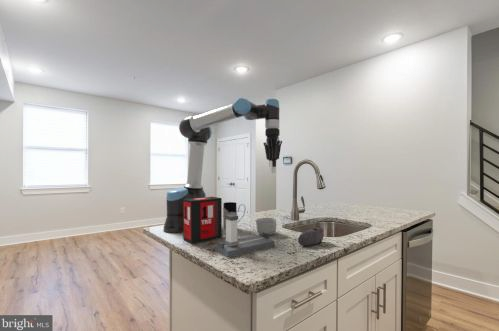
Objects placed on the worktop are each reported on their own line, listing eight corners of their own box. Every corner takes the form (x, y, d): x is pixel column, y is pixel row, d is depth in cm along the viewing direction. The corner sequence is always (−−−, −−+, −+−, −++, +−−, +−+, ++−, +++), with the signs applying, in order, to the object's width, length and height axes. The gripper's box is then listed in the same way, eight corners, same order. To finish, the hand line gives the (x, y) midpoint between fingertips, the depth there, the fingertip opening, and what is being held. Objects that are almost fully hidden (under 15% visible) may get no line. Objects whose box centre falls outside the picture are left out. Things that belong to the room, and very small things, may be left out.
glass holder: (220, 228, 143) (220, 202, 143) (242, 225, 150) (242, 201, 150) (225, 231, 135) (225, 204, 135) (248, 228, 142) (248, 202, 142)
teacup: (273, 237, 123) (273, 221, 123) (253, 236, 127) (253, 220, 127) (279, 231, 136) (279, 216, 137) (260, 229, 140) (260, 215, 140)
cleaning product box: (212, 234, 131) (212, 196, 131) (221, 237, 124) (221, 198, 124) (183, 240, 120) (183, 199, 121) (191, 244, 113) (191, 201, 114)
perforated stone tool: (302, 249, 106) (302, 233, 106) (294, 245, 110) (294, 230, 110) (327, 243, 113) (327, 228, 113) (318, 240, 118) (318, 226, 118)
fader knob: (224, 243, 105) (224, 215, 105) (232, 242, 107) (232, 214, 107) (230, 246, 101) (230, 216, 101) (238, 244, 103) (238, 215, 103)
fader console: (213, 249, 106) (213, 239, 106) (258, 239, 120) (258, 230, 120) (227, 257, 96) (227, 246, 96) (274, 246, 110) (274, 236, 110)
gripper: (286, 127, 128) (286, 172, 127) (269, 130, 138) (270, 172, 138) (275, 126, 123) (275, 173, 123) (259, 129, 134) (259, 172, 134)
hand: (272, 172), depth 131 cm, fingers closed
